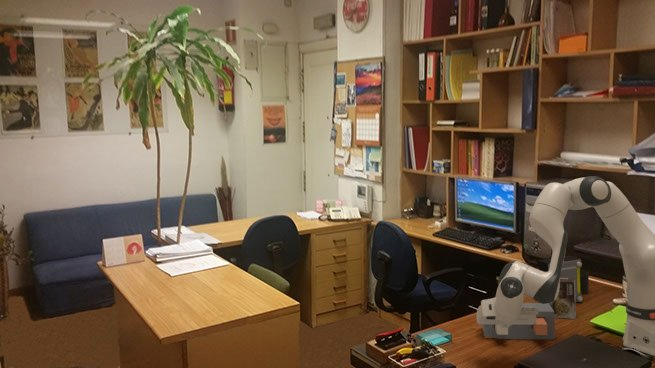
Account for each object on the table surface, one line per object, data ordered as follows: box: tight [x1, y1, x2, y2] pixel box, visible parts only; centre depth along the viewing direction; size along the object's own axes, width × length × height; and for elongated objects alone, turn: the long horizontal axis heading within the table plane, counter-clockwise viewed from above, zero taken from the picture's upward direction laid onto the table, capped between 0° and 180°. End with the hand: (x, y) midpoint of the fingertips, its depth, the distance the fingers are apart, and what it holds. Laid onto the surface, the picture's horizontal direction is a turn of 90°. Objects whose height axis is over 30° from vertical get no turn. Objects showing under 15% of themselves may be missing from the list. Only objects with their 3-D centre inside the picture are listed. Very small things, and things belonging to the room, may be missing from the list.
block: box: [481, 302, 556, 340], centre depth 217 cm, size 10×26×11 cm, turn 79°
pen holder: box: [581, 269, 590, 296], centre depth 263 cm, size 9×9×10 cm
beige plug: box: [494, 324, 508, 335], centre depth 211 cm, size 11×4×4 cm, turn 169°
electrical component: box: [536, 255, 584, 307], centre depth 250 cm, size 18×10×20 cm, turn 105°
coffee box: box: [552, 277, 577, 320], centre depth 233 cm, size 9×6×16 cm
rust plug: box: [532, 317, 548, 335], centre depth 208 cm, size 11×4×4 cm, turn 169°
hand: (504, 325), depth 199 cm, fingers closed
